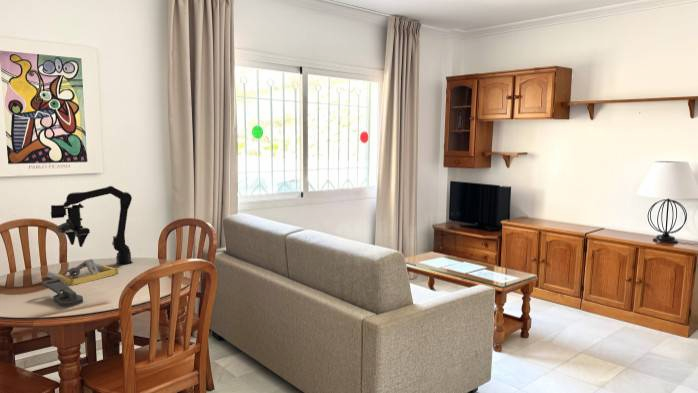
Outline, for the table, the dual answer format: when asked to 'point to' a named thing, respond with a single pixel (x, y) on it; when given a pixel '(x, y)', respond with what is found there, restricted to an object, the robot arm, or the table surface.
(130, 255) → the robot arm
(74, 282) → the guide channel
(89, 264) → the bracket
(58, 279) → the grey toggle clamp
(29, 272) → the table surface
